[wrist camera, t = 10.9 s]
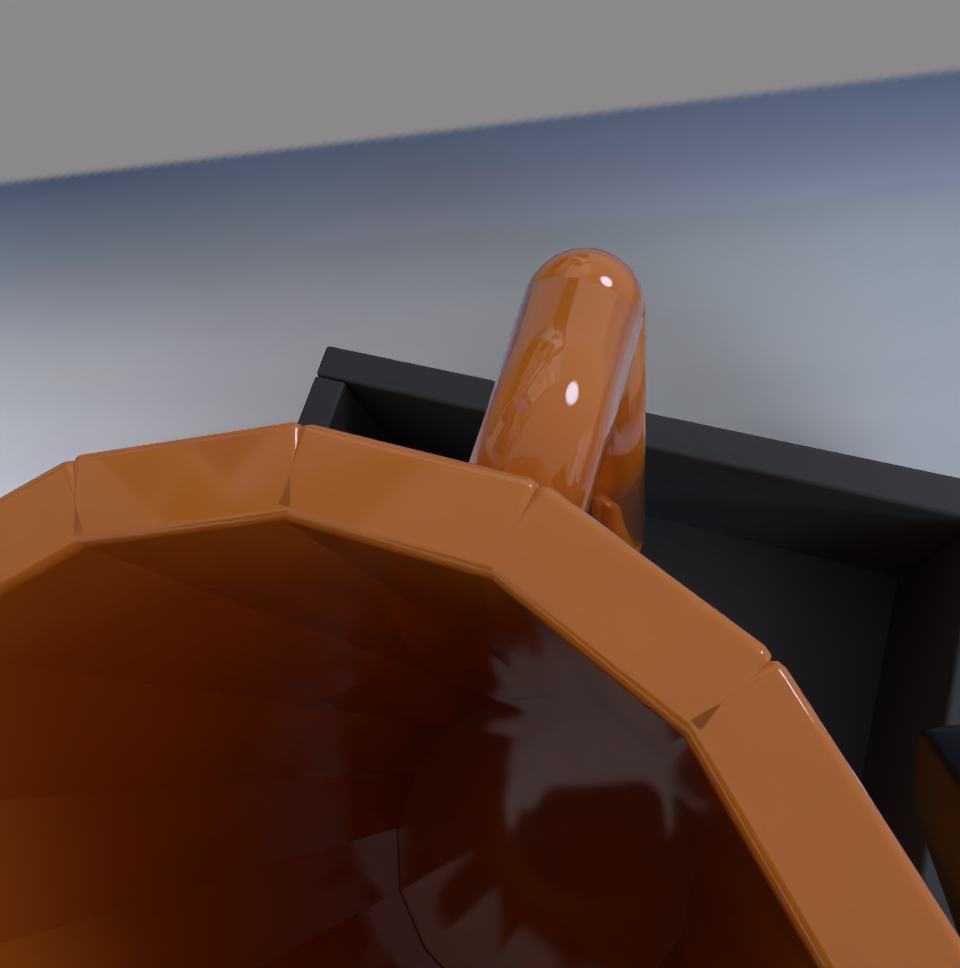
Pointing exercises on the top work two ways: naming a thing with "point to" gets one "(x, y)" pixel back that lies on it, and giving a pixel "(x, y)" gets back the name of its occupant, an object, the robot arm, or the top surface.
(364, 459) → the tall orange mug
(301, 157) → the top surface
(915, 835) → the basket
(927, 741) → the robot arm
